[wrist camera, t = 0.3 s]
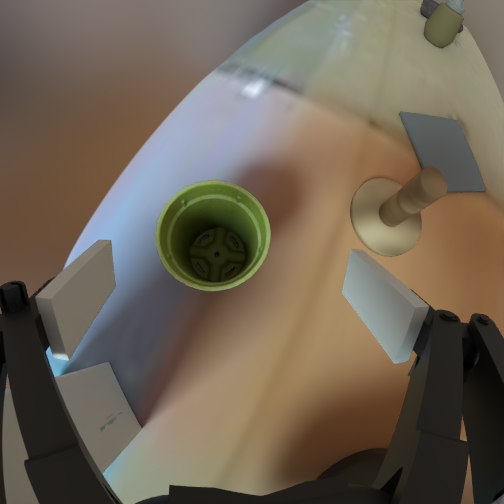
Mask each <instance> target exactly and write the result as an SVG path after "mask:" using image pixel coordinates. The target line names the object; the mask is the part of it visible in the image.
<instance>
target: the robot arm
mask: <svg viewBox="0 0 504 504" xmlns="http://www.w3.org/2000/svg"><path fill="white" fill-rule="evenodd" d="M115 287H116V284H115V275H114V266H113V256H112V244H111V240H98V241H97V242H95V243H94V244H93V245H92V246H91V247H89V248H88V249H87V250H86V251H85V252H84V253H82V254H81V255H80V256H79V257H78V258H77V259H75V260H74V261H73V262H72V263H71V264H70V265H69V266H68V267H66V268H65V269H64V270H63V271H62V272H61V273H60V274H59V275H58V276H56V277H54V278H53V279H50V280H48V281H47V282H46V283H45V284H44V285H43V286H42V287H41V288H39V289H38V291H36V293H34V294H33V295H32V296H31V297H30V298H28V294H27V290H26V286H25V284H24V282H21V281H12V282H8V283H5V284H3V285H1V286H0V308H1V311H2V314H0V504H7V502H6V494H5V485H4V474H3V453H2V431H3V410H4V397H5V388H6V379H7V372H8V378H9V383H10V390H11V395H12V400H13V404H14V409H15V413H16V417H17V421H18V424H19V428H20V432H21V435H22V439H23V442H24V445H25V448H26V451H27V454H28V459H27V460H24V466H25V469H26V473H27V475H28V478H29V481H30V483H31V486H32V488H33V491H34V493H35V495H36V498H37V500H38V502H39V504H123V503H122V502H121V501H120V499H119V498H118V497H117V495H116V494H115V493H114V491H113V490H112V488H111V487H110V485H109V484H108V482H107V481H106V479H105V478H104V476H103V475H102V473H101V471H100V470H99V468H98V466H97V465H96V463H95V461H94V460H93V458H92V456H91V455H90V453H89V451H88V449H87V447H86V445H85V444H84V442H83V440H82V438H81V436H80V434H79V432H78V430H77V428H76V426H75V424H74V422H73V420H72V418H71V416H70V413H69V411H68V409H67V407H66V404H65V402H64V400H63V397H62V395H61V393H60V390H59V388H58V385H57V383H56V380H55V377H54V375H53V372H52V369H51V366H50V363H49V360H48V358H47V355H46V350H47V349H48V347H49V346H50V349H51V351H52V354H53V357H54V358H58V359H63V360H68V361H69V360H70V358H71V356H72V355H73V353H74V351H75V350H76V348H77V346H78V345H79V343H80V341H81V340H82V338H83V336H84V335H85V333H86V332H87V330H88V328H89V327H90V325H91V324H92V322H93V320H94V319H95V317H96V316H97V314H98V313H99V311H100V310H101V308H102V307H103V305H104V303H105V302H106V300H107V299H108V297H109V296H110V294H111V293H112V292H113V290H114V289H115ZM342 294H343V295H344V297H345V298H346V299H347V301H348V302H349V303H350V305H351V306H352V307H353V308H354V310H355V311H356V312H357V314H358V315H359V316H360V318H361V319H362V320H363V322H364V323H365V324H366V326H367V327H368V328H369V330H370V331H371V333H372V334H373V335H374V337H375V338H376V339H377V341H378V342H379V343H380V345H381V346H382V348H383V349H384V350H385V352H386V353H387V354H388V356H389V357H390V359H391V360H392V361H393V363H394V364H396V363H402V362H408V360H409V358H410V356H411V353H412V351H413V350H414V352H415V353H416V354H417V357H416V359H415V361H414V364H413V366H412V368H411V370H410V372H409V374H408V376H411V377H410V381H409V385H408V389H407V393H406V396H405V400H404V403H403V407H402V410H401V413H400V416H399V420H398V423H397V426H396V429H395V432H394V434H393V437H392V440H391V443H390V445H389V448H388V449H371V450H366V451H362V452H359V453H356V454H354V455H351V456H349V457H347V458H345V459H343V460H341V461H339V462H338V463H336V464H335V465H333V466H332V467H330V468H329V469H328V470H327V471H325V472H324V473H323V474H322V475H321V476H320V477H319V478H318V479H317V480H314V481H308V482H304V483H301V484H298V485H295V486H293V487H290V488H287V489H284V490H281V491H278V492H275V493H271V494H268V495H264V496H256V495H250V494H244V493H238V492H232V491H227V490H222V489H218V488H208V487H187V486H175V485H170V486H169V495H161V496H157V497H152V498H149V499H145V500H142V501H140V502H138V503H135V504H460V503H461V499H462V494H463V489H464V483H465V477H466V471H467V464H468V455H469V456H470V464H471V474H472V485H473V496H474V504H504V338H503V337H502V335H501V333H500V332H499V330H498V328H497V327H496V325H495V323H494V322H493V321H492V320H491V319H490V318H489V317H488V316H486V315H484V314H476V313H475V314H473V315H472V316H471V319H470V321H469V323H461V322H460V319H459V317H458V316H457V315H455V314H454V313H452V312H450V311H446V310H436V311H435V310H434V309H433V308H432V307H431V306H430V305H429V304H428V303H426V302H425V301H423V299H422V298H421V297H420V296H418V295H417V294H416V293H415V292H414V291H413V290H411V289H409V288H408V287H407V286H406V285H404V284H403V283H402V282H401V281H400V280H399V279H397V278H396V277H395V276H394V275H393V274H391V273H390V272H389V271H388V270H387V269H385V268H384V267H383V266H382V265H380V264H379V263H378V262H377V261H376V260H374V259H373V258H372V257H371V256H369V255H368V254H367V253H366V252H364V251H363V250H355V249H351V250H350V255H349V261H348V266H347V271H346V276H345V281H344V285H343V290H342ZM462 415H463V420H464V425H465V430H466V436H467V442H468V443H467V442H466V441H462V440H460V431H461V420H462Z"/></svg>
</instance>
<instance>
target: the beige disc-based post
mask: <svg viewBox="0 0 504 504" xmlns="http://www.w3.org/2000/svg"><path fill="white" fill-rule="evenodd" d="M446 192H447V182H446V179H445V177H444V176H443V174H442V173H441V172H440V171H439V170H438V169H436V168H435V167H432V166H428V167H426V168H424V169H423V170H422V171H421V172H420V173H419V174H417V175H416V176H415V177H414V178H413V179H412V180H410V181H409V182H408V183H407V184H406V185H405V186H401V185H400V184H398V183H397V182H395V181H393V180H390V179H386V178H375V179H371V180H369V181H367V182H365V183H364V184H363V185H362V186H361V187H360V188H359V189H358V190H357V191H356V193H355V194H354V196H353V199H352V201H351V206H350V216H351V222H352V225H353V228H354V230H355V232H356V234H357V236H358V237H359V239H360V240H361V241H362V243H363V244H364V245H365V246H366V247H368V248H369V249H370V250H372V251H373V252H375V253H377V254H379V255H382V256H389V257H392V256H398V255H401V254H403V253H405V252H407V251H409V250H410V249H412V248H413V247H414V245H415V244H416V243H417V241H418V239H419V236H420V233H421V215H420V211H421V210H422V209H424V208H425V207H427V206H429V205H430V204H432V203H433V202H435V201H436V200H438V199H439V198H441V197H442V196H444V195H445V194H446Z"/></svg>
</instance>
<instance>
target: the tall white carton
mask: <svg viewBox="0 0 504 504" xmlns="http://www.w3.org/2000/svg"><path fill="white" fill-rule="evenodd" d="M55 380H56V383H57V385H58V388H59V390H60V393H61V395H62V397H63V400H64V402H65V404H66V407H67V409H68V411H69V413H70V416H71V418H72V420H73V422H74V424H75V426H76V428H77V430H78V432H79V434H80V436H81V438H82V440H83V442H84V444H85V445H86V447H87V449H88V451H89V453H90V455H91V456H92V458H93V460H94V461H95V463H96V465H97V466H98V468H99V470H100V471H101V473H103V472H104V471H105V470H106V469H107V468H108V467H109V466H110V464H111V463H112V462H113V461H114V460H115V459H116V458H117V457H118V456H119V454H120V453H121V452H122V451H123V450H124V449H125V448H126V447H127V445H128V444H129V443H130V442H131V441H132V440H133V439H134V438H135V436H136V435H137V434H138V433H139V432H140V431H141V426H140V424H139V423H138V421H137V419H136V417H135V415H134V413H133V411H132V409H131V408H130V406H129V404H128V402H127V400H126V398H125V396H124V394H123V391H122V389H121V387H120V385H119V383H118V381H117V379H116V376H115V374H114V372H113V370H112V367H111V365H110V363H109V362H105V363H101V364H98V365H95V366H92V367H88V368H85V369H81V370H78V371H75V372H71V373H68V374H64V375H60V376H57V377H55ZM2 453H3V474H4V485H5V494H6V502H7V504H39V502H38V500H37V498H36V495H35V493H34V491H33V488H32V486H31V483H30V481H29V478H28V475H27V473H26V469H25V466H24V460H27V459H28V454H27V451H26V448H25V445H24V442H23V439H22V435H21V432H20V428H19V424H18V421H17V417H16V413H15V409H14V404H13V400H12V395H11V390H10V389H9V390H5V397H4V410H3V431H2Z"/></svg>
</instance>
